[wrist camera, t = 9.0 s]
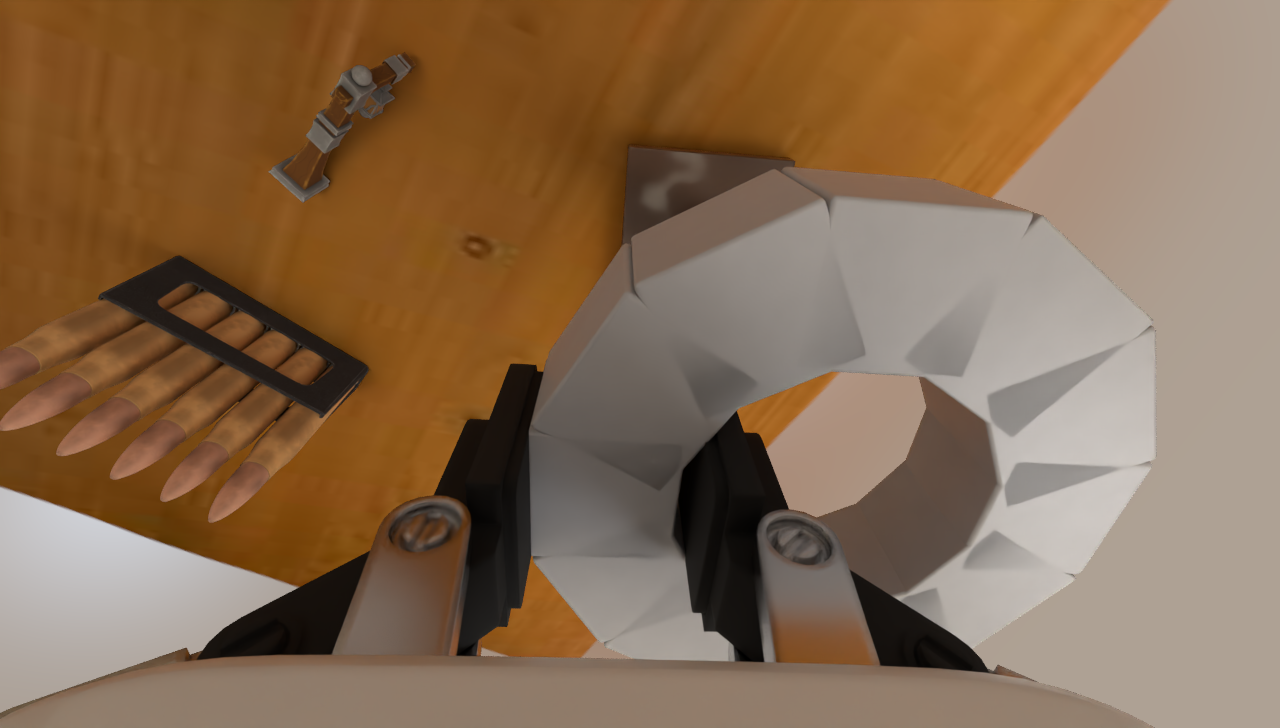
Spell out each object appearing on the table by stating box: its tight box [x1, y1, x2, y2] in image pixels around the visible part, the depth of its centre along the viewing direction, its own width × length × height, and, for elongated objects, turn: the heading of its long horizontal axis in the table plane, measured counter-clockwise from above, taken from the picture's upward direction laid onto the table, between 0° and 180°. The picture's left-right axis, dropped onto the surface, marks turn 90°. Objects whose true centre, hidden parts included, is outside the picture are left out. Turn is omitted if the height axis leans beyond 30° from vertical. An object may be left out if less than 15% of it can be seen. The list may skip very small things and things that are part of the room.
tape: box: [529, 167, 1156, 661], centre depth 12 cm, size 12×12×3 cm
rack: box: [621, 144, 795, 247], centre depth 23 cm, size 8×8×11 cm
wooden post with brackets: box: [268, 52, 416, 202], centre depth 24 cm, size 2×8×4 cm, turn 129°
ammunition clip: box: [0, 256, 369, 522], centre depth 25 cm, size 11×2×12 cm, turn 50°
